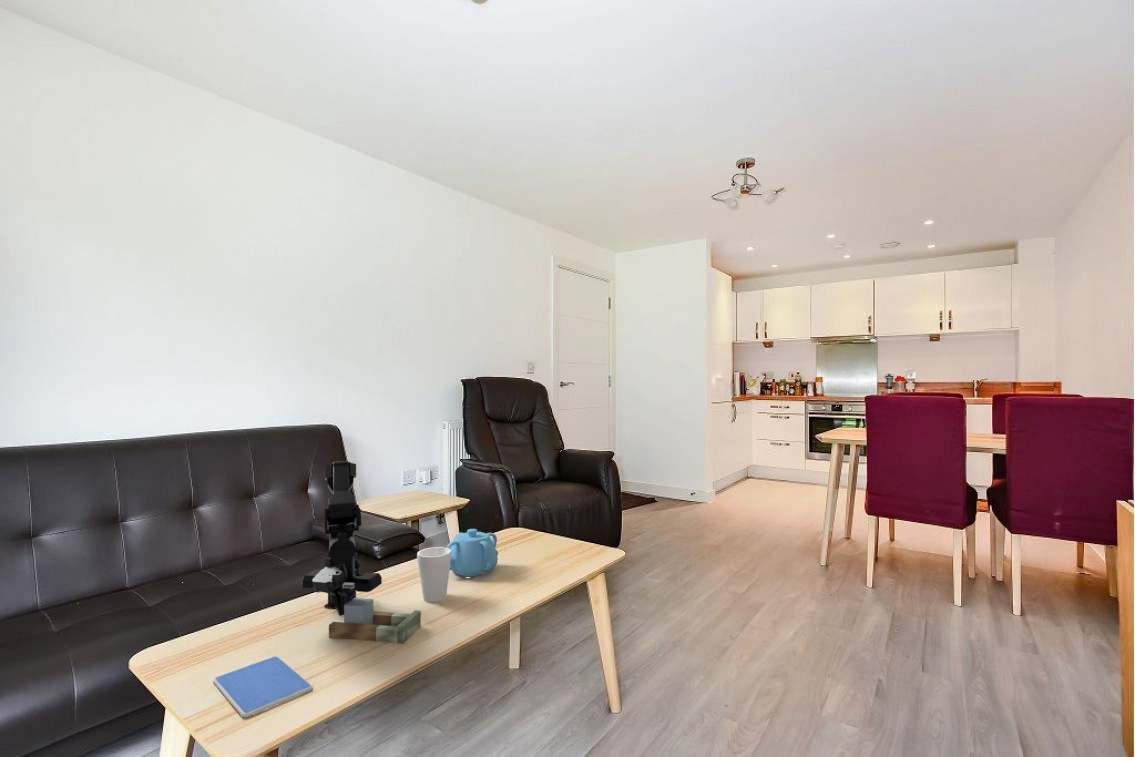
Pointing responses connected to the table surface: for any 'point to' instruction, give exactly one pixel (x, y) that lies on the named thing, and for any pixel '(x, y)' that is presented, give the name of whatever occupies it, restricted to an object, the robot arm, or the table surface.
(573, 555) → the table surface
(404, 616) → the u-shaped frame
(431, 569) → the foam cup
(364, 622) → the block
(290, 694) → the tablet computer
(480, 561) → the decorative pot
